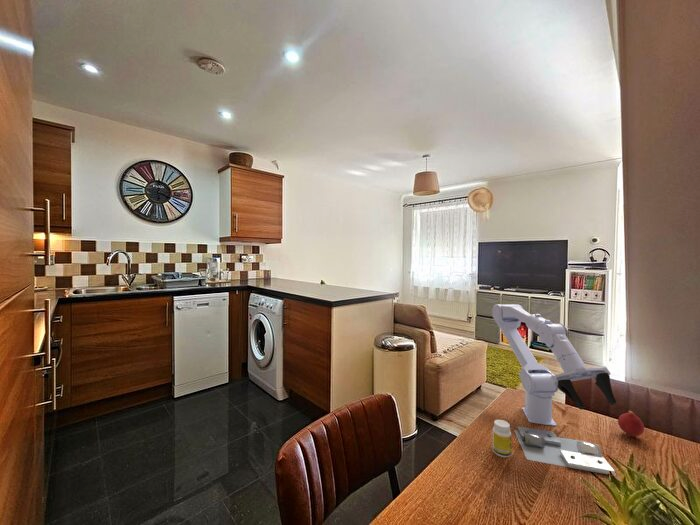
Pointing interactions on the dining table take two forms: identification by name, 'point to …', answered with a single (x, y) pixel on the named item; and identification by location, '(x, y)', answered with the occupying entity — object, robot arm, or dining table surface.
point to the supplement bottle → (501, 438)
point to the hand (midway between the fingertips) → (598, 406)
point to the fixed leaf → (538, 437)
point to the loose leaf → (587, 458)
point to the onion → (631, 424)
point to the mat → (549, 451)
